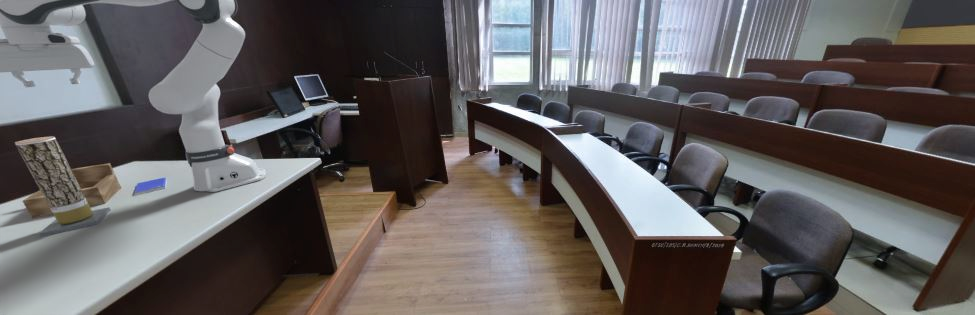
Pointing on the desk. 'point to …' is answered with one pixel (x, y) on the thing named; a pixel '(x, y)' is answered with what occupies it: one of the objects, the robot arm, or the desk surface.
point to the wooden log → (55, 179)
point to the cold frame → (93, 183)
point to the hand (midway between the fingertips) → (54, 85)
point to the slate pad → (92, 220)
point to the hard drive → (150, 186)
